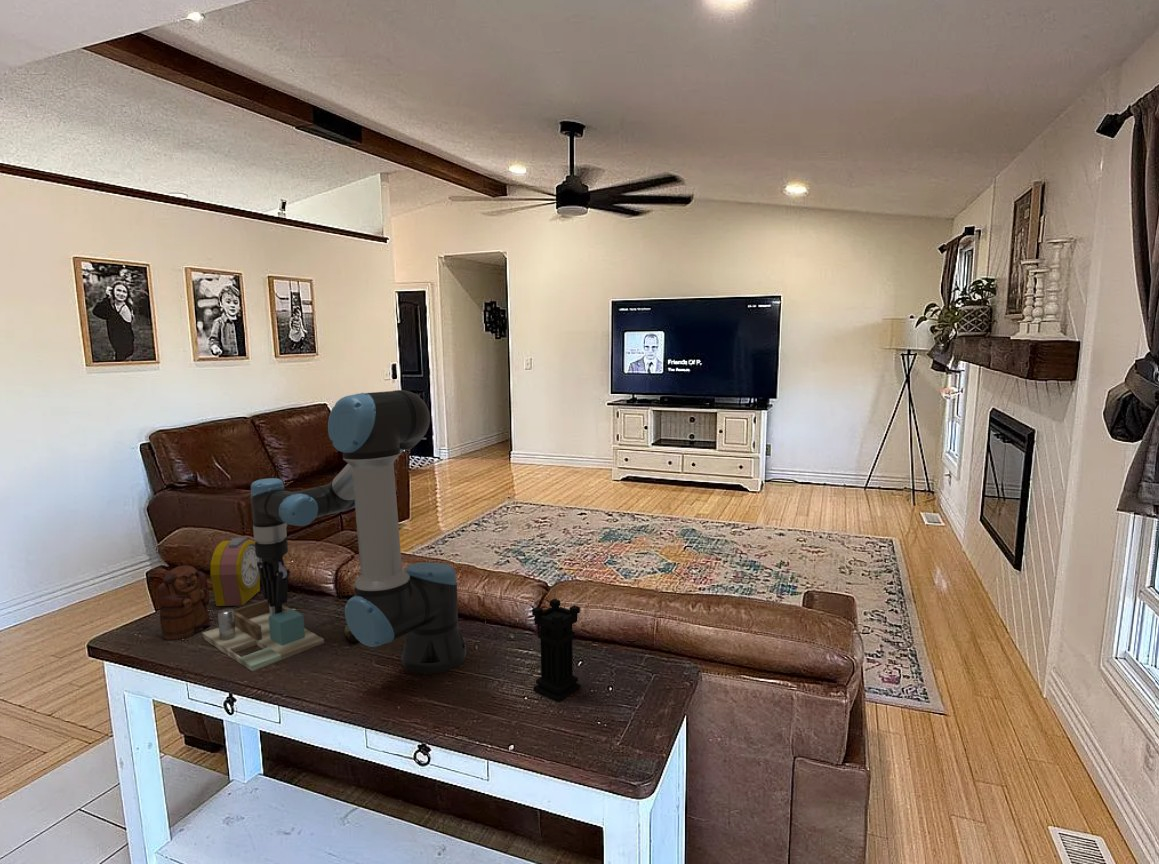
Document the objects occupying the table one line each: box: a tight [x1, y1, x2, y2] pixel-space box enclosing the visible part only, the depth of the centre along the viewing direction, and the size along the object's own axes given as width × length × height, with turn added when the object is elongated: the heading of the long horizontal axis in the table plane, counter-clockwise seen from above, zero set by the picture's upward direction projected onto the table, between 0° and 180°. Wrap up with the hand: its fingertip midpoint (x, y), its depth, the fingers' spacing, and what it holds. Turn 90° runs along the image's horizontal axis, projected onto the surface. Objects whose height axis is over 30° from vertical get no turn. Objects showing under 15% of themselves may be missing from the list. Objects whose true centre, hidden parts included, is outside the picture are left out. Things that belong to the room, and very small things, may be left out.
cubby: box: [233, 599, 291, 641], centre depth 175 cm, size 16×11×4 cm
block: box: [269, 608, 305, 646], centre depth 167 cm, size 6×6×6 cm
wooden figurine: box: [157, 565, 212, 641], centre depth 173 cm, size 12×6×18 cm, turn 160°
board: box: [201, 613, 325, 672], centre depth 169 cm, size 28×18×2 cm, turn 51°
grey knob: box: [216, 608, 236, 641], centre depth 167 cm, size 4×4×7 cm
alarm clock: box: [210, 537, 262, 607], centre depth 196 cm, size 15×8×18 cm, turn 2°
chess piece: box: [531, 598, 582, 703], centre depth 141 cm, size 8×8×20 cm
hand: (277, 627), depth 170 cm, fingers closed
